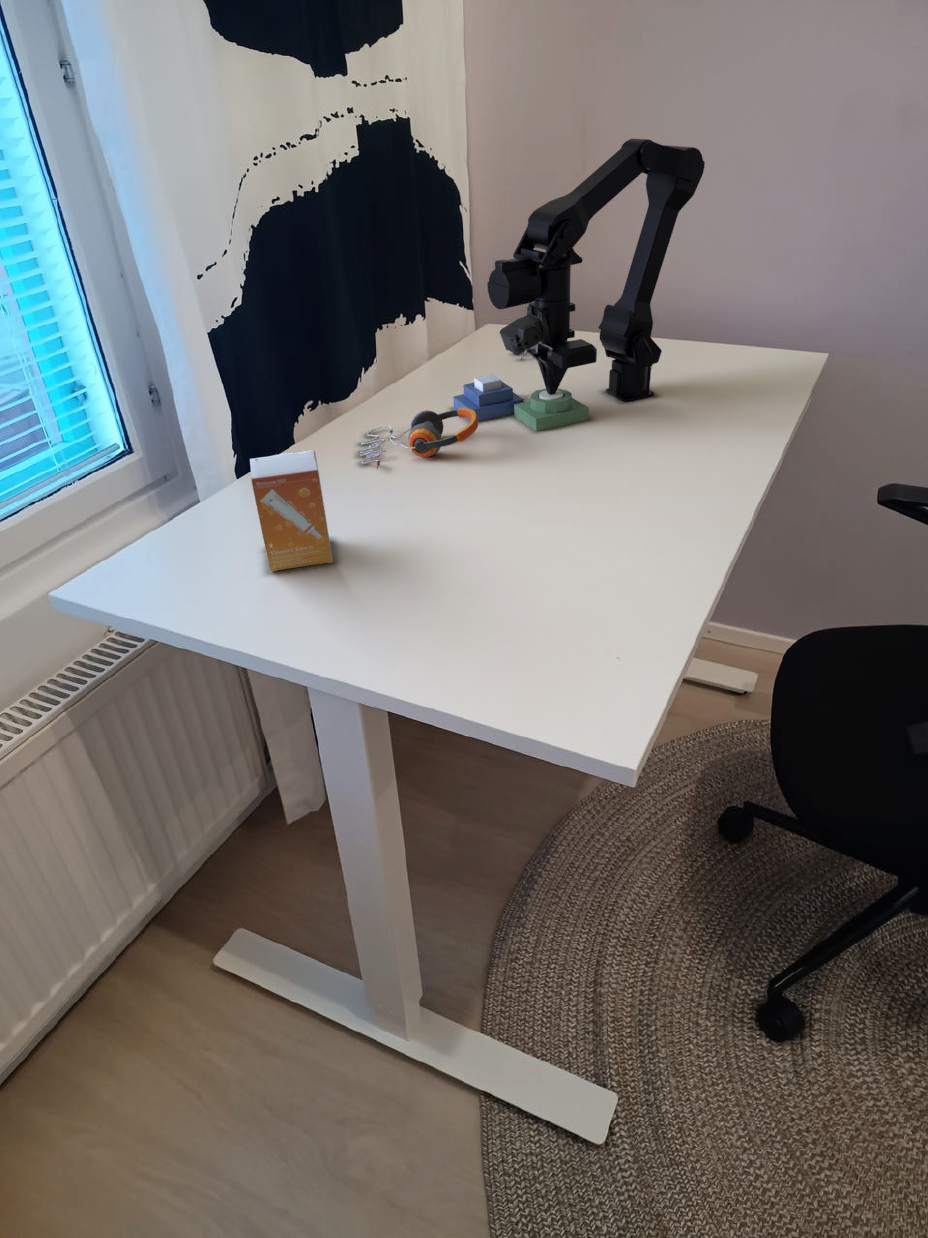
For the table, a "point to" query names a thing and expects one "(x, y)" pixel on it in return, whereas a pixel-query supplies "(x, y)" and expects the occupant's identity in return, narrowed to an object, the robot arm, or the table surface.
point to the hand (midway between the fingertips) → (551, 393)
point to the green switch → (550, 411)
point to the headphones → (427, 433)
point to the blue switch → (488, 401)
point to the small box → (291, 510)
